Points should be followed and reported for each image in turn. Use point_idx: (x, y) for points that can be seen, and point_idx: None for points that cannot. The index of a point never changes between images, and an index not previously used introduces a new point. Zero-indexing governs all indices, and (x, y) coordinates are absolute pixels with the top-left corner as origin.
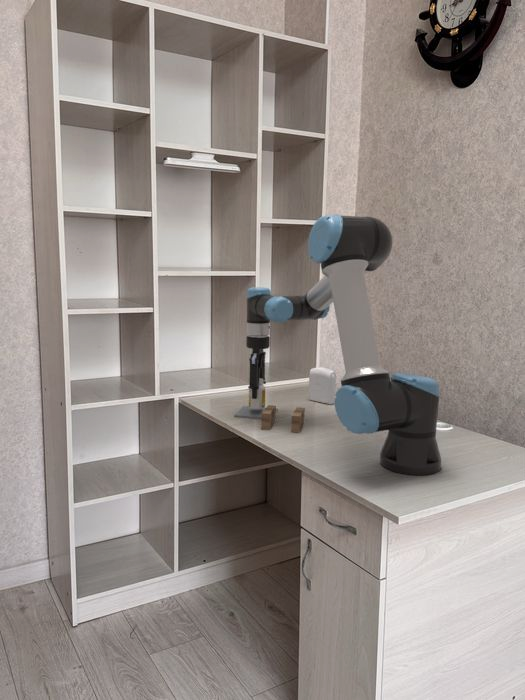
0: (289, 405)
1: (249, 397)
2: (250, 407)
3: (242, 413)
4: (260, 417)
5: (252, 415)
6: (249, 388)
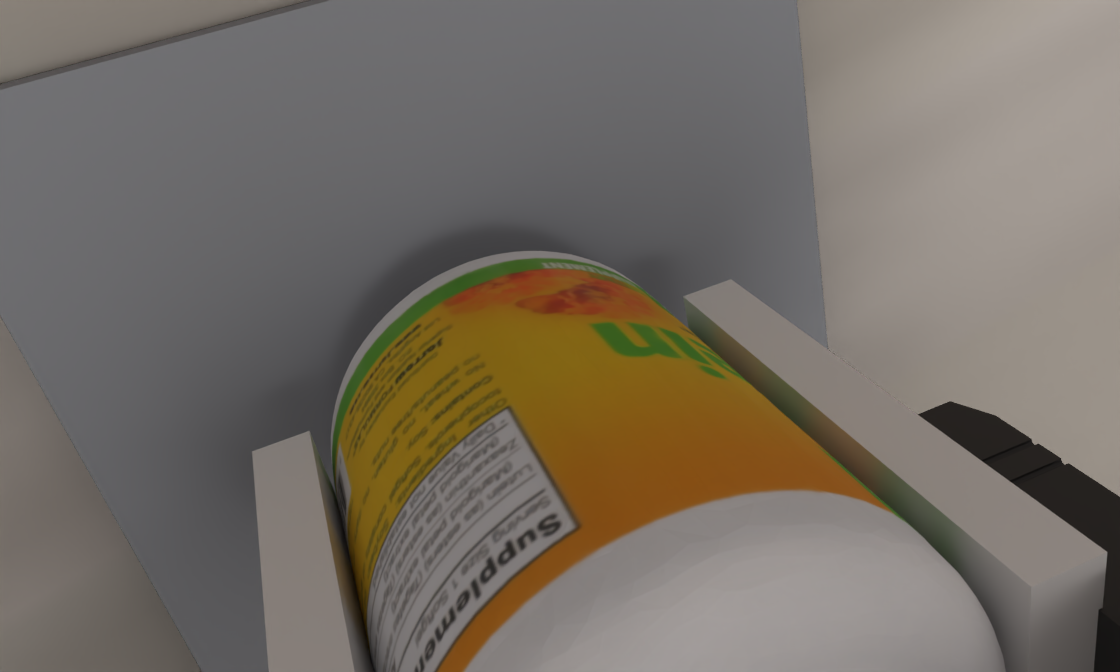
0: (1107, 480)
1: (414, 470)
2: (341, 390)
3: (179, 212)
4: (181, 630)
5: (183, 467)
6: (509, 664)
